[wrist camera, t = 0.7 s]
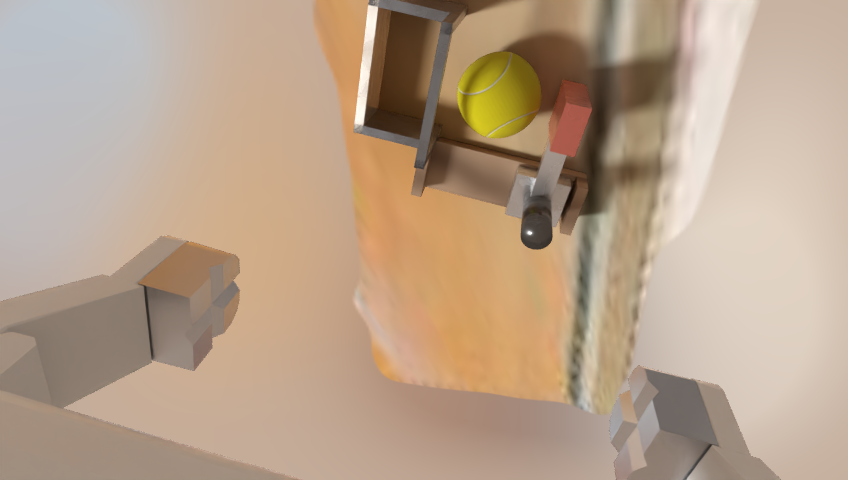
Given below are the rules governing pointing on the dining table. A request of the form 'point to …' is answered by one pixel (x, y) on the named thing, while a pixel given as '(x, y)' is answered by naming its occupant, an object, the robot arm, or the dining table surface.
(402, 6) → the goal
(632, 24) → the dining table surface
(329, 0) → the dining table surface
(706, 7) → the dining table surface
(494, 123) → the tennis ball
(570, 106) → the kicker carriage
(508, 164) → the track
